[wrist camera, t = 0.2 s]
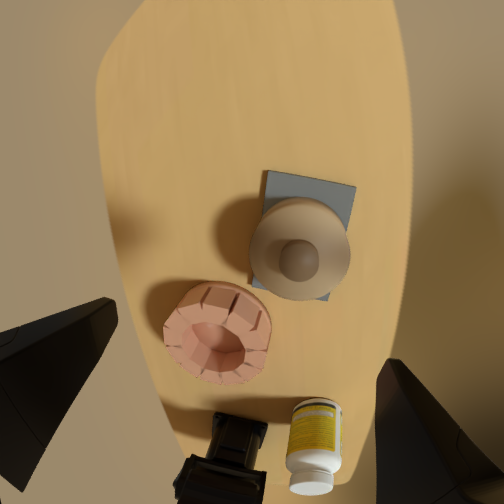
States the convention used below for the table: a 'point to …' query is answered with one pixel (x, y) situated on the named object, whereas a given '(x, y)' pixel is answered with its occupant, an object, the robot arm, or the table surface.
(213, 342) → the pink notched ring
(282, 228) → the lid
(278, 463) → the table surface
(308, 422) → the supplement bottle
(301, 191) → the mat
